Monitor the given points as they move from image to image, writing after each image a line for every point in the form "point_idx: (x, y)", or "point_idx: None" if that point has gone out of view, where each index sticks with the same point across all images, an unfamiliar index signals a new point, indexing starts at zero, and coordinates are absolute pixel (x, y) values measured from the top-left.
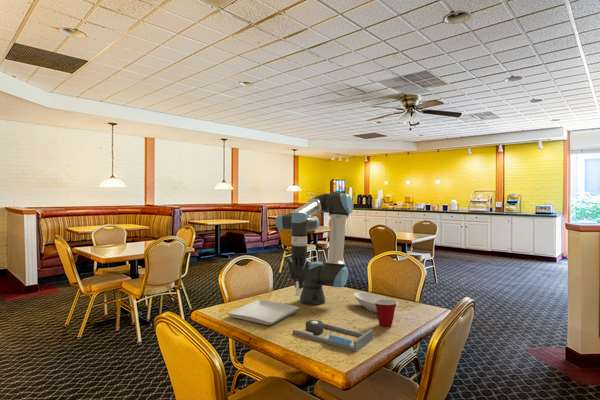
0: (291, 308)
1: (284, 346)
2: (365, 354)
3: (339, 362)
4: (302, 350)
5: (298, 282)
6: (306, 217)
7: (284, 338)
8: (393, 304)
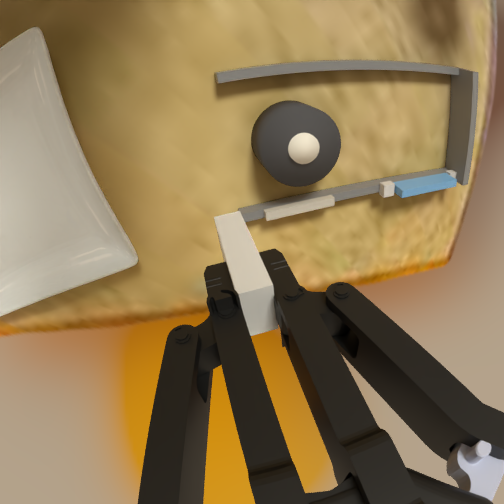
0: (7, 60)
1: None
2: None
3: (433, 239)
4: (345, 265)
5: (276, 322)
6: None
7: None
8: None
